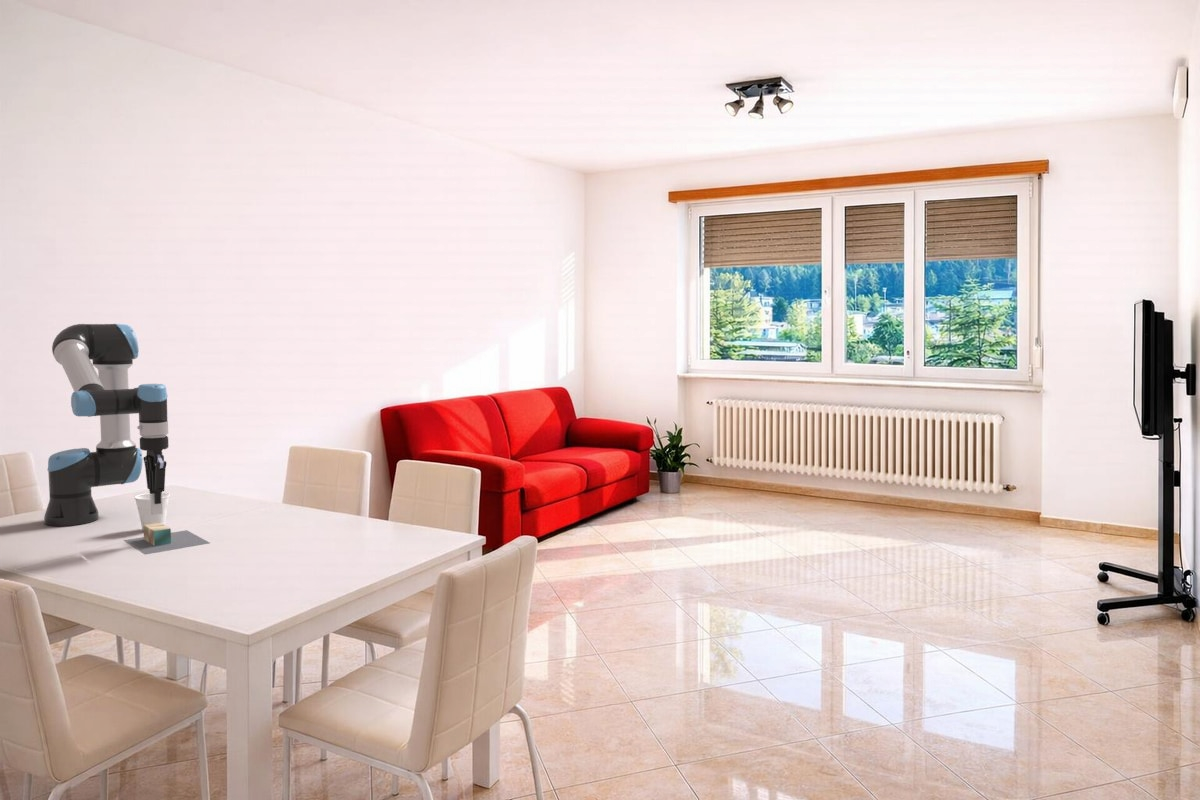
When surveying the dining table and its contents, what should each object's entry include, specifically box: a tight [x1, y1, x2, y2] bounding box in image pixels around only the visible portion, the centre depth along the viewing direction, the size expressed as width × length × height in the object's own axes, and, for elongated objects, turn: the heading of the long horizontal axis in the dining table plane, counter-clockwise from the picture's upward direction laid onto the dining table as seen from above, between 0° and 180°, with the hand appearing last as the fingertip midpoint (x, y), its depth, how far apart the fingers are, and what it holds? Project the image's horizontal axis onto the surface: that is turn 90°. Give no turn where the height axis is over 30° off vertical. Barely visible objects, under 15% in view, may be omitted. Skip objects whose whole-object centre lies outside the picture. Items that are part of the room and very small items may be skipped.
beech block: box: [143, 522, 172, 546], centre depth 250 cm, size 4×4×10 cm
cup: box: [134, 492, 171, 531], centre depth 265 cm, size 10×10×11 cm
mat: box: [123, 529, 211, 555], centre depth 250 cm, size 20×18×1 cm
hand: (156, 513), depth 249 cm, fingers closed
